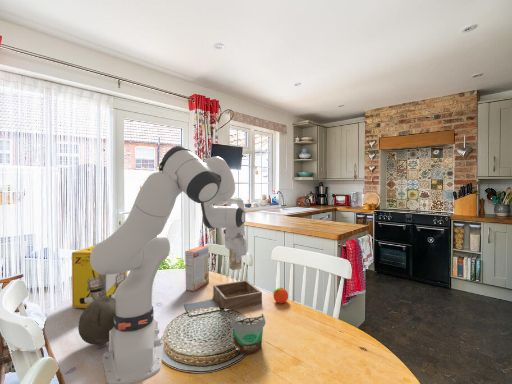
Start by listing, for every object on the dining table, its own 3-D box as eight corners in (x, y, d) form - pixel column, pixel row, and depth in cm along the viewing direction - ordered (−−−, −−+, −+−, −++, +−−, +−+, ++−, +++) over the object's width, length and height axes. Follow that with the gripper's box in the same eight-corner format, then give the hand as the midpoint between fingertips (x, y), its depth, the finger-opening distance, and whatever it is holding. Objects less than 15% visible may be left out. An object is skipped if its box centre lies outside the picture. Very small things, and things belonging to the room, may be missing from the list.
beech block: (241, 269, 126) (241, 250, 126) (232, 270, 124) (232, 251, 124) (238, 266, 130) (238, 248, 130) (229, 267, 128) (229, 249, 128)
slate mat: (221, 310, 117) (221, 309, 117) (189, 316, 111) (189, 315, 111) (213, 299, 128) (213, 299, 128) (184, 305, 122) (184, 304, 122)
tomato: (275, 307, 120) (275, 291, 120) (268, 301, 126) (268, 286, 126) (291, 304, 123) (291, 289, 123) (283, 298, 129) (283, 284, 129)
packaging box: (106, 308, 119) (106, 253, 118) (72, 307, 120) (71, 252, 120) (126, 294, 135) (126, 245, 134) (96, 293, 136) (96, 244, 136)
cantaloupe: (86, 288, 95) (62, 334, 89) (103, 298, 86) (78, 349, 81) (120, 296, 105) (101, 338, 99) (140, 305, 96) (120, 351, 90)
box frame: (261, 304, 123) (261, 292, 123) (224, 311, 116) (224, 299, 116) (246, 290, 140) (246, 280, 139) (213, 296, 132) (213, 285, 132)
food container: (236, 360, 83) (236, 328, 83) (230, 349, 88) (230, 319, 88) (271, 351, 88) (271, 320, 88) (263, 341, 93) (263, 312, 93)
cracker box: (200, 281, 153) (200, 245, 153) (209, 283, 151) (209, 246, 150) (184, 290, 140) (184, 250, 140) (194, 291, 138) (194, 251, 138)
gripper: (250, 235, 119) (250, 265, 119) (233, 228, 137) (233, 255, 138) (237, 236, 116) (237, 267, 116) (222, 229, 135) (222, 256, 135)
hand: (235, 260), depth 127 cm, fingers closed on beech block, 4 cm apart
